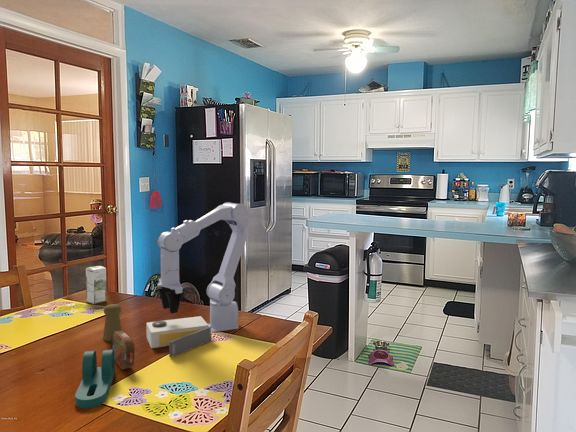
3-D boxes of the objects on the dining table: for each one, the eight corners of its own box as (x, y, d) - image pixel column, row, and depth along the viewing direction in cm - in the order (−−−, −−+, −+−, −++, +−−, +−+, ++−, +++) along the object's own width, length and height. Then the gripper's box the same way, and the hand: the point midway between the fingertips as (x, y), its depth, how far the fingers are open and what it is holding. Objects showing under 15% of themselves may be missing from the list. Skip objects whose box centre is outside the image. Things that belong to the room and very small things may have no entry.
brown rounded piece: (110, 355, 135) (109, 327, 134) (120, 353, 137) (120, 326, 136) (125, 374, 123) (124, 344, 122) (136, 371, 125) (136, 341, 124)
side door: (209, 339, 148) (209, 326, 147) (213, 340, 147) (213, 327, 146) (169, 356, 134) (169, 341, 134) (172, 357, 133) (172, 342, 133)
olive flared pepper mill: (116, 341, 146) (115, 308, 145) (99, 340, 147) (98, 306, 146) (126, 335, 151) (125, 302, 150) (110, 333, 153) (109, 301, 152)
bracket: (88, 376, 122) (87, 347, 121) (114, 373, 123) (114, 345, 122) (72, 410, 104) (71, 377, 104) (103, 407, 106) (103, 374, 105)
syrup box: (98, 298, 193) (97, 265, 192) (107, 301, 190) (106, 267, 189) (86, 302, 189) (85, 267, 187) (94, 304, 185) (93, 269, 184)
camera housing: (200, 330, 157) (200, 314, 157) (209, 340, 148) (209, 323, 147) (146, 337, 150) (146, 320, 149) (151, 349, 140) (151, 331, 140)
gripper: (149, 266, 150) (150, 307, 152) (166, 274, 139) (167, 318, 140) (170, 264, 154) (170, 303, 156) (188, 272, 143) (188, 314, 144)
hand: (170, 310), depth 148 cm, fingers open, 5 cm apart
